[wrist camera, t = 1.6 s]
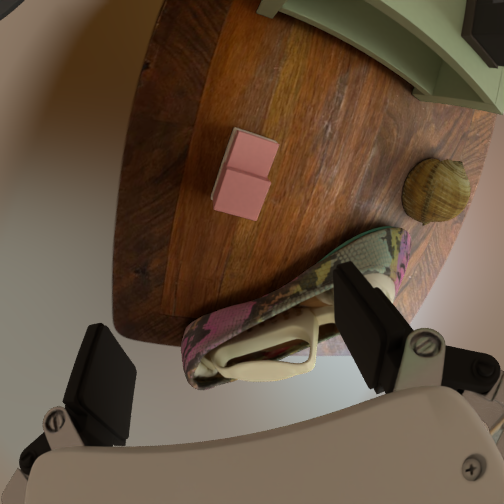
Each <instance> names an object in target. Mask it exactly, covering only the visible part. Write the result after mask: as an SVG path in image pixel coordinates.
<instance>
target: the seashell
mask: <svg viewBox="0 0 504 504" xmlns="http://www.w3.org/2000/svg"><path fill="white" fill-rule="evenodd" d="M470 191H471V188H470V182H469V180H468V177H467V175H466V173H465V169H464V167H463V164H462V162H460V161H452V160H448V159H447V160H443V161H441V162H440V161H439V160H438V159H428V160H425V161H422V162H421V163H419V164H417V166H416V167H415V168H413V170H412V171H411V172H410V173H409V175H408V177H407V180H406V181H405V185H404V189H403V195H402V203H403V208H404V209H405V212H406V213H407V215H409V216H410V217H412V218H413V219H414V220H417V221H419V222H422V223H423V225H426V224H428V223H430V222H442V221H448V220H450V219H452V218H454V217H456V216H457V215H458V214H460V213H461V212H462V211H463V209H464V208H465V206H466V205H467V202H468V200H469V197H470Z"/></svg>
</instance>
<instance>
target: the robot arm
mask: <svg viewBox="0 0 504 504" xmlns="http://www.w3.org/2000/svg"><path fill="white" fill-rule="evenodd" d="M333 289H334V319H335V324H336V327H337V329H338V331H339V333H340V334H341V336H342V338H343V340H344V342H345V344H346V346H347V347H348V349H349V351H350V353H351V355H352V357H353V359H354V361H355V363H356V364H357V366H358V368H359V370H360V372H361V374H362V376H363V378H364V380H365V382H366V384H367V386H368V387H369V388H370V389H372V388H374V390H375V392H376V394H379V393H381V392H384V391H385V393H386V394H385V395H382V396H379V397H376V398H374V399H370V400H367V401H364V402H362V403H359V404H356V405H353V406H350V407H348V408H345V409H342V410H339V411H336V412H332V413H329V414H326V415H323V416H320V417H316V418H313V419H310V420H306V421H302V422H299V423H295V424H292V425H288V426H284V427H280V428H275V429H271V430H267V431H262V432H257V433H253V434H247V435H242V436H237V437H231V438H225V439H218V440H211V441H204V442H196V443H186V444H176V445H162V446H142V447H141V446H139V447H113V445H114V446H125V443H126V439H128V437H129V428H130V419H131V410H132V402H133V395H134V388H135V380H136V373H137V372H136V368H135V366H134V364H133V363H132V361H131V360H130V359H129V357H128V356H127V355H126V353H125V352H124V350H123V349H122V348H121V346H120V345H119V343H118V342H117V340H116V339H115V337H114V336H113V334H112V333H111V331H110V330H109V328H108V327H107V326H104V325H103V324H102V323H97V324H92V325H89V326H88V328H87V331H86V334H85V336H84V339H83V341H82V344H81V347H80V349H79V352H78V355H77V358H76V361H75V364H74V367H73V370H72V373H71V376H70V379H69V382H68V385H67V388H66V392H65V395H64V398H63V403H64V404H65V408H63V407H61V406H57V407H53V408H52V409H50V410H49V411H48V412H47V413H46V415H45V416H44V419H43V430H44V433H43V434H41V435H40V436H39V437H38V438H37V439H36V440H35V441H34V442H32V443H31V444H30V445H29V446H28V447H27V448H26V449H24V450H23V452H22V453H21V455H20V459H19V465H20V468H21V470H20V469H19V468H17V470H16V472H15V473H14V475H13V476H12V478H11V480H10V481H9V483H8V484H7V486H6V488H5V490H4V491H3V493H2V504H504V371H502V370H500V365H499V363H498V362H497V360H496V359H495V358H494V357H492V356H491V355H488V354H485V353H480V352H475V351H470V350H465V349H460V348H456V347H451V346H446V345H445V340H444V338H443V337H442V335H441V334H440V333H439V332H437V331H435V330H433V329H429V328H420V329H417V330H413V329H412V328H411V327H410V325H409V324H408V323H407V321H406V320H405V319H404V317H403V316H402V315H401V314H400V312H399V311H398V310H397V309H396V307H395V306H394V305H393V304H392V302H391V301H390V300H389V299H388V297H387V296H386V295H385V294H384V293H383V291H382V290H381V289H380V288H378V287H375V288H373V286H372V285H371V284H370V283H369V281H368V280H367V279H366V278H365V277H364V275H363V274H362V273H361V272H360V271H359V269H358V268H357V267H356V266H355V265H354V263H353V262H352V261H348V262H345V263H341V264H338V265H337V267H336V269H334V270H333ZM482 421H483V422H485V423H486V424H487V426H488V428H489V432H488V430H487V428H486V427H485V425H484V423H483V422H482Z"/></svg>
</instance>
